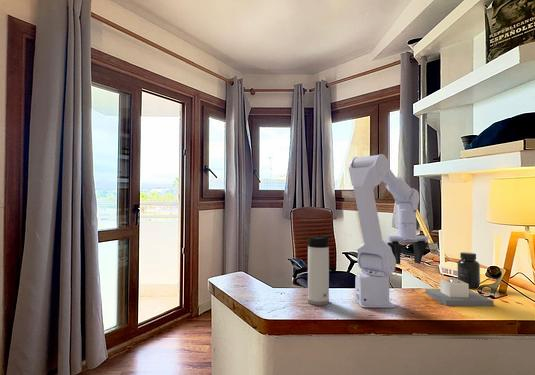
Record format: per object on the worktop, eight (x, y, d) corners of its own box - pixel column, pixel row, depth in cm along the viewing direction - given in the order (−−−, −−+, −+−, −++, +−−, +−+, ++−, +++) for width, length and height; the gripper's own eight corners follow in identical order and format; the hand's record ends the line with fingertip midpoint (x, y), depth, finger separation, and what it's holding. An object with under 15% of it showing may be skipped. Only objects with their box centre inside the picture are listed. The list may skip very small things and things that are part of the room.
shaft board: (445, 305, 93) (445, 283, 93) (425, 293, 105) (425, 273, 105) (493, 305, 93) (492, 283, 93) (467, 293, 105) (467, 274, 105)
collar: (450, 297, 96) (450, 283, 97) (440, 291, 102) (440, 279, 102) (468, 297, 96) (468, 284, 96) (457, 292, 102) (457, 279, 102)
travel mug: (331, 305, 92) (331, 236, 93) (308, 305, 92) (308, 236, 93) (328, 299, 98) (328, 234, 99) (307, 298, 99) (307, 234, 99)
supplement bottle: (484, 289, 111) (484, 254, 111) (464, 289, 111) (464, 254, 111) (472, 284, 117) (471, 251, 118) (453, 284, 118) (453, 251, 118)
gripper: (394, 224, 103) (395, 266, 102) (434, 224, 106) (434, 265, 105) (382, 222, 110) (383, 262, 109) (420, 222, 112) (420, 261, 112)
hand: (407, 263), depth 108 cm, fingers open, 7 cm apart
